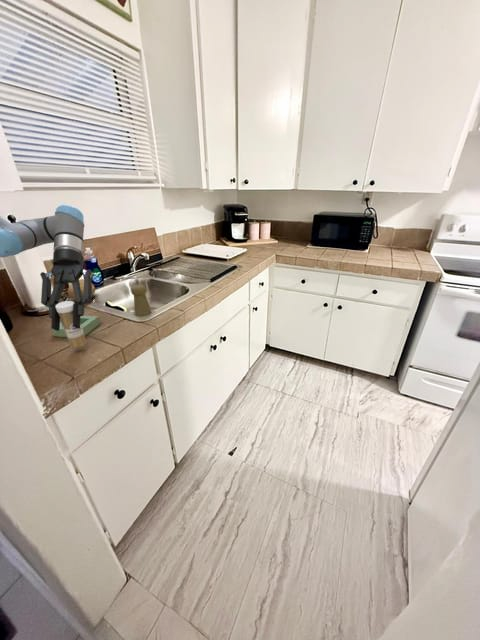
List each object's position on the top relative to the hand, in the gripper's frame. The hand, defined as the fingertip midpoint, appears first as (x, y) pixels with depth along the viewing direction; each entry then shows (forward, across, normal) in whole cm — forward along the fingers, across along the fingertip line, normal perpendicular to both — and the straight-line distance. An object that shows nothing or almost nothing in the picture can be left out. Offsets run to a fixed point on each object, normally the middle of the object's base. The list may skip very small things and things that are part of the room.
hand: (66, 328), depth 72 cm
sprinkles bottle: (+3, 0, -8) cm, 9 cm away
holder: (-5, +5, -19) cm, 20 cm away
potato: (-25, +11, -39) cm, 47 cm away
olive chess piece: (-12, -16, -26) cm, 33 cm away
